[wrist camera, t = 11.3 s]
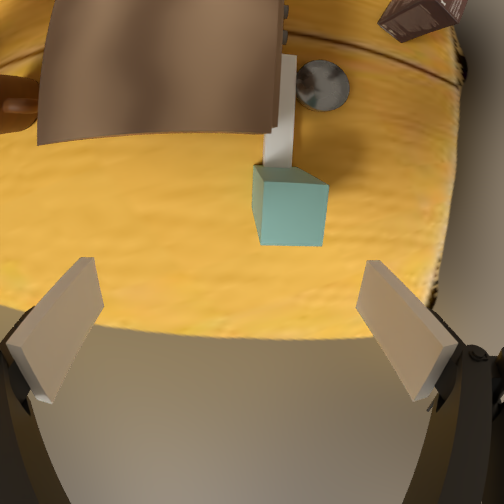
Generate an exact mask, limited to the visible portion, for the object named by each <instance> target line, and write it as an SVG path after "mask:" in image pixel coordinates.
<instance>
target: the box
mask: <svg viewBox="0 0 504 504" xmlns="http://www.w3.org/2000/svg"><path fill="white" fill-rule="evenodd" d="M467 1H468V0H392V1H391V2H390V4H389V5H388V7H387V8H386V10H385V11H384V13H383V15H382V16H381V18H380V19H379V21H378V23H377V24H378V25H379V26H380V27H381V28H383V29H384V30H385V31H387V32H388V33H389V34H391V35H392V36H393V37H394V38H396V39H397V40H398V41H399V42H401V43H403V42H405V41H408V40H411V39H413V38H416V37H419V36H422V35H424V34H427V33H430V32H433V31H436V30H439V29H442V28H445V27H448V26H451V25H455V24H459V22H460V19H461V17H462V15H463V12H464V9H465V6H466V4H467Z"/></svg>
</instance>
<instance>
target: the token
mask: <svg viewBox="0 0 504 504" xmlns="http://www.w3.org/2000/svg"><path fill="white" fill-rule="evenodd" d="M349 89H350V88H349V81H348V78H347V76H346V75H345V73H344V72H343V70H342V69H341V68H340V67H338V66H337V65H335V64H334V63H331V62H329V61H325V60H315V61H311V62H309V63H307V64H305V65H304V66H303V67H302V68H301V69H300V70H299V71H298V73H297V74H296V97H297V99H298V100H299V101H300V103H301V104H302V105H304V106H305V107H306V108H308V109H310V110H313V111H317V112H325V111H330V110H334V109H337V108H339V107H340V106H341V105H343V104H344V102H345V101H346V100H347V98H348V95H349Z"/></svg>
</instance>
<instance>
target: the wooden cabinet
mask: <svg viewBox="0 0 504 504" xmlns="http://www.w3.org/2000/svg"><path fill="white" fill-rule="evenodd" d="M288 10H289V7H288V5H284V0H55V3H54V7H53V11H52V15H51V19H50V23H49V28H48V33H47V38H46V43H45V49H44V55H43V61H42V69H41V77H40V87H39V100H38V121H37V146H39V145H45V144H52V143H59V142H66V141H74V140H83V139H93V138H104V137H116V136H128V135H143V134H164V133H235V134H271V132H272V128H275V127H278V114H279V97H280V80H281V61H282V45H286V42H287V35H288V33H287V31H286V30H283V20H284V19H287V17H288Z"/></svg>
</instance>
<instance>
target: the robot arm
mask: <svg viewBox="0 0 504 504" xmlns="http://www.w3.org/2000/svg"><path fill="white" fill-rule="evenodd" d="M103 307H104V304H103V300H102V295H101V291H100V286H99V281H98V276H97V271H96V266H95V261H94V257H81V258H80V259H79V260H78V261H77V262H76V263H75V264H74V265H73V266H72V267H71V268H70V269H69V270H68V271H67V272H66V273H65V274H64V275H63V276H62V277H61V278H60V279H59V280H58V281H57V283H56V284H55V285H54V286H53V287H52V288H51V289H50V290H49V291H48V292H47V294H46V295H45V296H44V297H43V298H42V299H41V300H40V301H39V303H38V304H37V305H36V306H33V307H32V308H31V309H29V310H28V311H26V312H25V313H24V314H23V315H22V317H21V318H20V319H19V321H18V322H17V323H16V324H15V325H14V327H12V329H11V330H10V331H9V332H8V334H7V335H6V336H5V338H4V339H3V340H2V342H1V343H0V504H71V503H70V501H69V499H68V497H67V495H66V493H65V491H64V489H63V487H62V485H61V483H60V481H59V479H58V477H57V474H56V472H55V470H54V467H53V465H52V463H51V460H50V458H49V455H48V453H47V450H46V448H45V445H44V442H43V439H42V437H41V434H40V431H39V428H38V425H37V422H36V419H35V415H34V412H33V409H32V405H31V401H30V400H29V398H28V396H27V395H28V393H29V391H30V389H31V391H32V392H33V394H34V396H35V397H36V399H37V400H40V401H43V402H47V403H50V404H53V402H54V399H55V397H56V395H57V393H58V391H59V389H60V387H61V385H62V383H63V381H64V379H65V376H66V375H67V372H68V371H69V369H70V367H71V365H72V363H73V361H74V359H75V357H76V355H77V353H78V351H79V349H80V347H81V346H82V344H83V342H84V340H85V339H86V337H87V335H88V333H89V331H90V330H91V328H92V326H93V324H94V323H95V321H96V319H97V318H98V316H99V314H100V312H101V311H102V309H103ZM356 309H357V311H358V312H359V314H360V315H361V317H362V318H363V320H364V321H365V323H366V325H367V326H368V328H369V329H370V331H371V332H372V334H373V336H374V337H375V339H376V340H377V342H378V343H379V345H380V347H381V348H382V350H383V352H384V353H385V355H386V357H387V358H388V360H389V362H390V363H391V365H392V367H393V368H394V370H395V372H396V373H397V375H398V377H399V378H400V380H401V382H402V383H403V385H404V387H405V389H406V390H407V392H408V394H409V396H410V397H411V399H412V401H416V400H420V399H423V398H426V397H428V396H429V394H430V393H431V391H432V390H433V388H434V386H435V388H436V389H437V391H438V393H437V395H436V396H435V398H434V400H433V401H432V403H431V404H430V406H429V407H428V409H427V411H428V412H429V410H430V409H431V408H432V407H433V408H432V413H431V417H430V422H429V426H428V429H427V433H426V437H425V440H424V444H423V447H422V450H421V454H420V457H419V460H418V463H417V466H416V469H415V472H414V475H413V478H412V480H411V483H410V485H409V488H408V491H407V493H406V495H405V498H404V500H403V503H402V504H481V501H482V504H504V402H503V403H501V400H500V398H501V397H502V396H503V394H504V347H503V348H502V350H501V351H500V353H499V355H498V356H489V355H488V354H487V352H486V351H485V350H484V349H482V348H481V347H479V346H476V345H467V346H466V345H465V344H464V343H463V342H462V340H461V339H460V338H459V337H458V336H457V335H456V334H455V332H454V331H453V330H452V329H451V328H450V327H448V325H447V324H446V323H445V322H443V319H442V318H441V317H440V316H439V315H438V314H437V313H436V312H434V311H433V310H431V309H430V308H428V307H425V306H424V304H423V303H422V302H421V301H420V300H419V299H418V298H417V297H416V296H415V295H414V294H413V293H412V292H411V291H410V290H409V289H408V288H407V287H406V286H405V285H404V284H403V283H402V282H401V281H400V280H399V279H398V278H397V277H396V276H395V275H394V274H393V273H392V272H391V271H390V270H389V269H388V268H387V267H386V266H385V265H384V264H383V263H382V262H381V261H380V260H367V262H366V267H365V271H364V276H363V280H362V284H361V288H360V293H359V297H358V301H357V305H356Z"/></svg>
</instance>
